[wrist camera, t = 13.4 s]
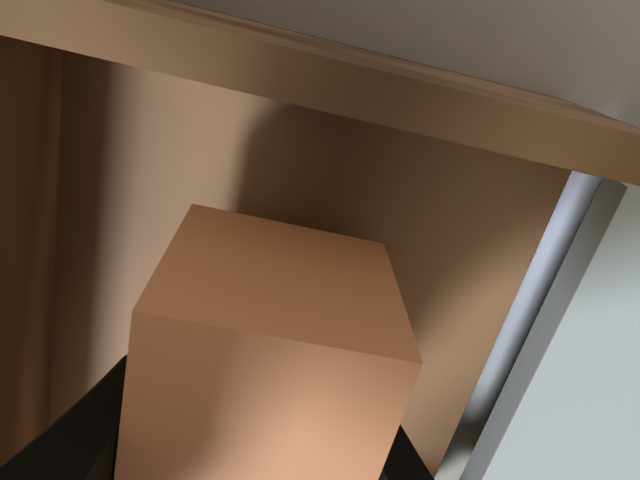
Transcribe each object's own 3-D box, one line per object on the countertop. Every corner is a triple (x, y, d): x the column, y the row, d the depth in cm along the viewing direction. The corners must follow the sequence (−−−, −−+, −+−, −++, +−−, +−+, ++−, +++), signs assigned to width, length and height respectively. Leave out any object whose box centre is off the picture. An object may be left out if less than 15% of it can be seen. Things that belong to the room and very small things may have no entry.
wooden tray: (41, 447, 17) (-43, 589, 13) (56, -29, 11) (-85, -46, 7) (398, 500, 18) (425, 644, 14) (566, 100, 13) (690, 147, 9)
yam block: (154, 458, 13) (97, 630, 10) (192, 203, 10) (132, 310, 7) (308, 481, 14) (310, 653, 10) (384, 243, 11) (423, 363, 7)
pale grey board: (446, 552, 16) (618, 583, 16) (627, 187, 11) (864, 244, 11) (435, 504, 17) (594, 534, 17) (592, 166, 12) (803, 217, 13)
